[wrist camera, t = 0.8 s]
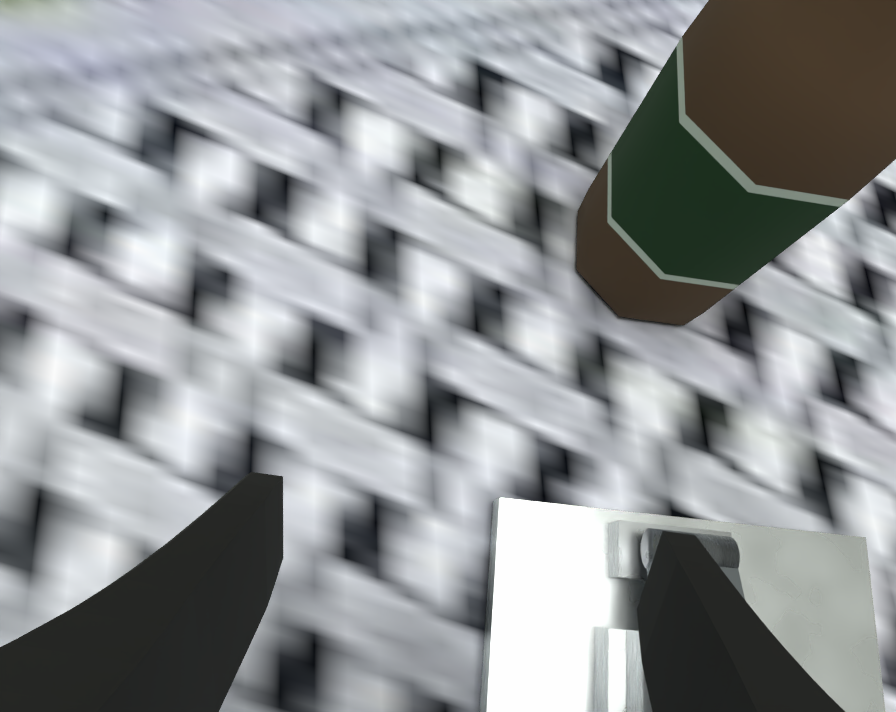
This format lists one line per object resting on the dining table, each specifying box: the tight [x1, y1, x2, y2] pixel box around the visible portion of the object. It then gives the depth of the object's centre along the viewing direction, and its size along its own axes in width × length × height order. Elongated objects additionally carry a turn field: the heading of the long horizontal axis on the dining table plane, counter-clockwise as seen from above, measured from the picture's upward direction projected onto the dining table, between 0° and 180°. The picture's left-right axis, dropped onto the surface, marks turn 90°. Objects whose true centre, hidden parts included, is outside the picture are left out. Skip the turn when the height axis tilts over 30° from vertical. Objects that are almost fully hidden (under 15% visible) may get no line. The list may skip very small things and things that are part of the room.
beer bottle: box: [576, 0, 896, 325], centre depth 21 cm, size 8×8×24 cm
